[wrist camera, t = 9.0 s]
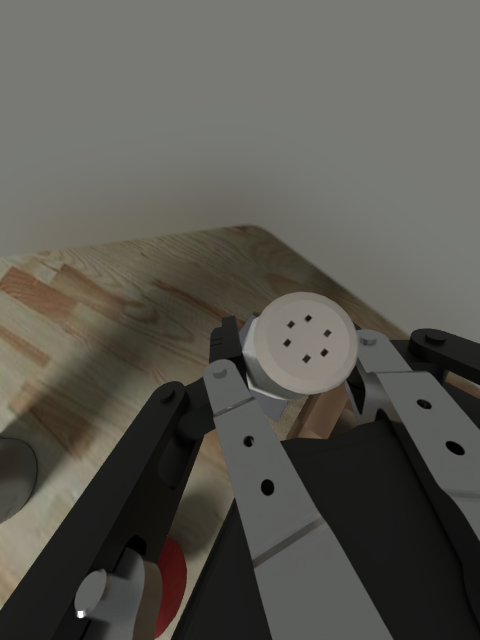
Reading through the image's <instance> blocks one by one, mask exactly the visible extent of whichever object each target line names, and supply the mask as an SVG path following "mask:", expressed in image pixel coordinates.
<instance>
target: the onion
mask: <svg viewBox="0 0 480 640" xmlns="http://www.w3.org/2000/svg"><path fill="white" fill-rule="evenodd" d="M156 565H157V566H158V568H159V570H160V573H161V577H162V587H163V588H162V599H161V605H160V609H159V613H158V617H157V621H156V628H155V638H154V639H156V638H158V637H159V636H160V635H161V634H163V632H164V631H165V630H166V628H167V627H168V626H169V624H170V623H171V622H172V620H173V619H174V617H175V616H176V614H177V612H178V610H179V607H180V604H181V602H182V599H183V596H184V592H185V588H186V580H187V567H186V562H185V558H184V554H183V551H182V550H181V548H180V546H179V544H178V543H177V542H176V541H174V540H173V539H172V538H169V537H167V538H166V540H165V543H164V546H163V548H162V551H161V554H160V556H159V559H158V562H157V564H156Z"/></svg>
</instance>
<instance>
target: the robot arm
mask: <svg viewBox="0 0 480 640" xmlns="http://www.w3.org/2000/svg"><path fill="white" fill-rule="evenodd" d="M351 321H352V320H351ZM352 322H353V321H352ZM353 324H354V327H355V329H356V332H357V335H358V345H359V352H358V357H357V361H356V365H355V366H354V368H353V370H352V372H351V373H350V375H349V376H348V377H347V378H346V379H345V380H344V384H345V387H346V390H347V393H348V396H349V398H350V401H351V404H352V407H353V410H354V412H355V415H356V418H357V421H358V426H357V427H355V428H354V429H352V430H350V431H348V432H346V433H345V434H343V435H341V436H339V437H338V438H335V439H318V438H300V437H298V438H293V439H289V440H284V441H279V439H278V437H277V435H276V434H275V432H274V430H273V428H272V426H271V425H270V423H269V421H268V419H267V417H266V415H265V414H264V412H263V410H262V408H261V406H260V404H259V403H258V401H257V399H256V398H255V397H252V396H251V394H250V391H249V386H248V380H247V374H246V370H245V366H244V363H243V359H242V356H241V351H242V346H241V341H240V337H239V333H238V328H237V324H236V320H235V316H229V317H225V318H222V327H219V328H214V330H213V332H212V333H211V337H210V341H211V342H210V357H209V365H208V366H207V367H206V368H205V370H204V372H203V377H202V378H200V379H199V380H197V381H195V382H193V383H191V384H189V385H187V386H185V387H184V385H183V384H182V383H181V382H177V381H172V382H168V383H165V384H163V385H162V386H160V387H159V388H157V389H156V390H155V391H154V392H153V394H152V395H151V397H150V398H149V399H148V401H147V402H146V404H145V405H144V406H143V408H142V409H141V411H140V412H139V414H138V415H137V416H136V418H135V419H134V421H133V422H132V424H131V425H130V426H129V428H128V429H127V431H126V432H125V434H124V435H123V436H122V438H121V439H120V441H119V442H118V444H117V445H116V446H115V448H114V449H113V451H112V452H111V453H110V455H109V456H108V458H107V459H106V461H105V462H104V463H103V465H102V466H101V468H100V469H99V471H98V472H97V473H96V475H95V476H94V478H93V479H92V481H91V482H90V483H89V485H88V486H87V488H86V489H85V491H84V492H83V493H82V495H81V496H80V498H79V499H78V501H77V502H76V503H75V505H74V506H73V508H72V509H71V510H70V512H69V513H68V515H67V516H66V518H65V519H64V520H63V522H62V523H61V525H60V526H59V528H58V529H57V530H56V532H55V533H54V535H53V536H52V538H51V539H50V540H49V542H48V543H47V545H46V546H45V548H44V549H43V550H42V552H41V553H40V555H39V556H38V557H37V559H36V560H35V562H34V563H33V565H32V566H31V567H30V569H29V570H28V572H27V573H26V575H25V576H24V577H23V579H22V580H21V582H20V583H19V585H18V586H17V587H16V589H15V590H14V592H13V593H12V595H11V596H10V597H9V599H8V600H7V602H6V603H5V604H4V606H3V607H2V609H1V610H0V640H154V638H155V628H156V621H157V617H158V613H159V609H160V605H161V599H162V588H163V587H162V577H161V573H160V570H159V568H158V566H157V565H156V564H157V562H158V559H159V556H160V554H161V551H162V548H163V546H164V543H165V540H166V538H167V535H168V532H169V529H170V527H171V524H172V521H173V519H174V516H175V513H176V511H177V508H178V505H179V503H180V500H181V497H182V494H183V492H184V489H185V486H186V484H187V481H188V478H189V476H190V473H191V470H192V468H193V465H194V462H195V459H196V457H197V454H198V451H199V449H200V446H201V443H202V441H203V438H204V435H205V434H207V433H208V432H210V431H212V430H214V429H215V428H216V430H217V434H218V437H219V441H220V445H221V448H222V452H223V455H224V459H225V463H226V466H227V470H228V473H229V477H230V481H231V484H232V488H233V492H234V495H235V498H234V500H233V502H232V504H231V507H230V509H229V511H228V513H227V516H226V518H225V520H224V522H223V524H222V527H221V529H220V531H219V533H218V536H217V538H216V540H215V542H214V544H213V547H212V549H211V551H210V553H209V556H208V558H207V560H206V562H205V564H204V567H203V569H202V571H201V573H200V576H199V578H198V580H197V582H196V584H195V587H194V589H193V591H192V593H191V596H190V598H189V600H188V602H187V604H186V607H185V609H184V611H183V613H182V616H181V618H180V620H179V622H178V624H177V627H176V629H175V631H174V633H173V636H172V638H171V640H480V399H478V398H476V397H474V396H472V395H470V394H468V393H466V392H464V391H463V390H461V389H459V388H457V387H455V386H453V385H451V384H449V383H447V382H445V379H446V377H447V375H448V373H449V371H451V372H453V373H455V374H457V375H459V376H461V377H463V378H465V379H467V380H470V381H472V382H474V383H476V384H478V385H480V344H479V343H476V342H473V341H470V340H467V339H464V338H462V337H458V336H456V335H453V334H450V333H447V332H444V331H441V330H436V329H418V330H415V331H413V332H412V334H411V337H410V340H388V338H387V337H386V336H385V335H383V334H382V333H379V332H377V331H373V330H366V329H361V328H360V327H359V326H358V325H356V324H355V323H354V322H353ZM36 470H37V469H36V460H35V457H34V454H33V452H32V451H31V449H30V447H29V446H28V445H26V444H25V443H24V442H22V441H20V440H17V439H2V438H1V437H0V524H1V523H3V522H4V521H6V520H8V519H9V518H11V517H12V516H13V515H15V514H16V513H17V512H18V511H19V510H20V509H21V508H22V507H23V506H24V504H25V503H26V501H27V500H28V498H29V496H30V494H31V492H32V490H33V487H34V483H35V480H36Z"/></svg>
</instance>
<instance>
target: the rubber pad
mask: <svg viewBox="0 0 480 640" xmlns="http://www.w3.org/2000/svg"><path fill="white" fill-rule="evenodd" d="M255 318H257V317H256V316H254V315H253V314H251V315H250V317H249V318H248V320H247V321H246V323H245V324H244V326H243V327H242V329H241V330H240V332H239V337H240V341H241V346H242V347H243V344H244V341H245V338H246V336H247V333H248V331H249V328H250V326H251V323H252V321H253V320H254V319H255ZM249 391H250V394H251V396H252V397H255V398H256V399H257V401H258V403H259V404H260V406H261V408H262V410H263V412H264V413H265V414H266V415H267V416H269V417H270V418H272V419H273V420H274V421H276V422H277V420H278V419H279V417H280V415H281V413H282V411H283V410H284V408H285V406H286V404H287V403H288V401H289V400H284V399H277V398H273V397H270V396H267V395H265V394H262V393H260V392H257V391H255V390H252V389H249Z"/></svg>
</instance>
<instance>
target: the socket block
mask: <svg viewBox="0 0 480 640" xmlns="http://www.w3.org/2000/svg"><path fill="white" fill-rule="evenodd" d="M348 398H349V396H348V393H347V390H346V387H345V384H344V381H343V382H342V383H341V384H340V385H339V386H337V387H335V388H333V389H331V390H329V391H327V392H323V393H317V394H310V395H309V397H308V399H307V401H306V403H305V404H304V406H303V408H302V410H301V412H300V413H299V415H298V417H297V419H296V421H295V423H294V424H293V426H292V428H291V430H290V432H289V433H288V435H287V437H286V439H287V440H289V439H293V438H298V437H300V438H318V439H328V438H329V436H330V434H331V432H332V430H333V428H334V426H335V424H336V422H337V420H338V418H339V416H340V414H341V412H342V410H343V408H344V406H345V404H346V402H347V400H348Z"/></svg>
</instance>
